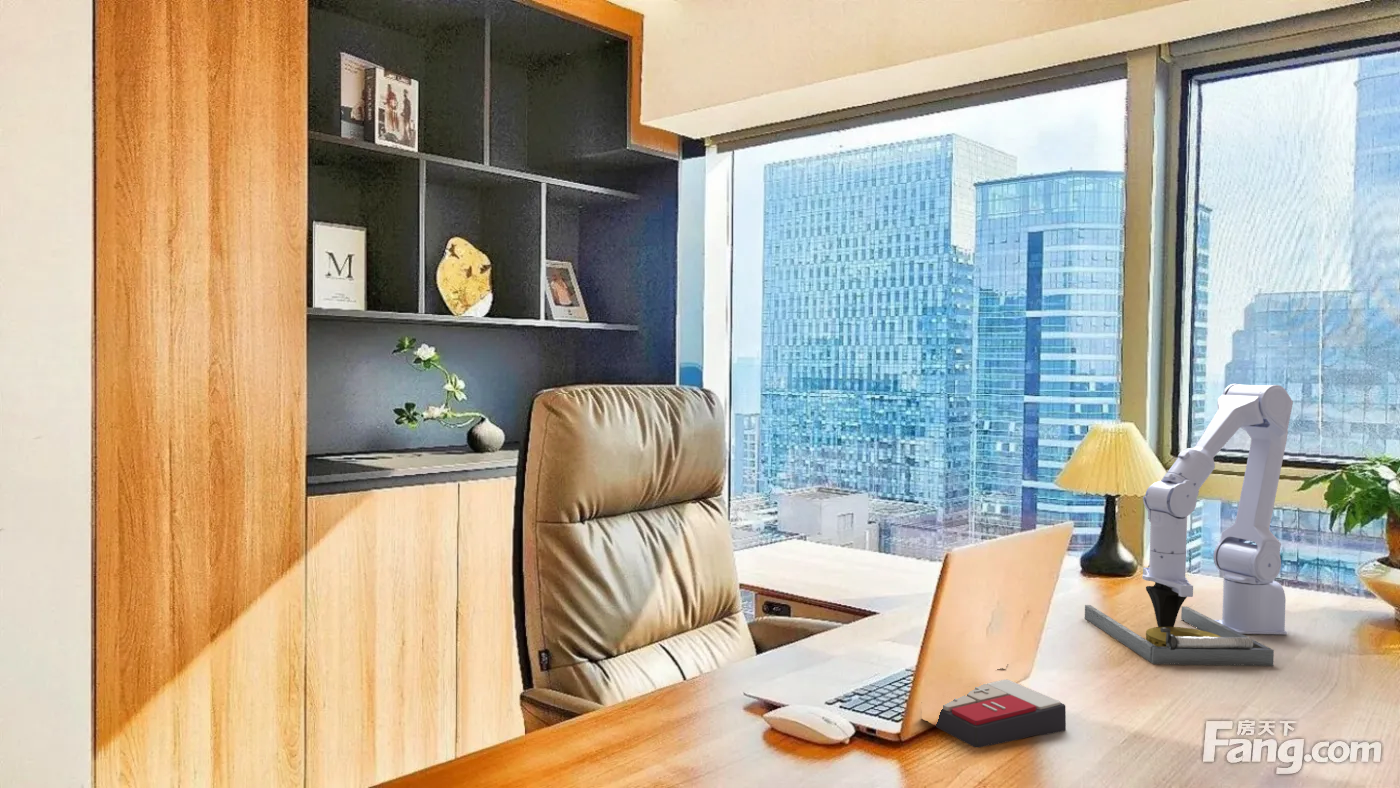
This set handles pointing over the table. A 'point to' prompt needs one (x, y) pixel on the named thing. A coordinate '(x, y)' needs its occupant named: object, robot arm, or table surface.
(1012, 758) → the table surface
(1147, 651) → the bay
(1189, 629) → the gold round shallow dish
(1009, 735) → the calculator
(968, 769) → the table surface
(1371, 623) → the table surface
